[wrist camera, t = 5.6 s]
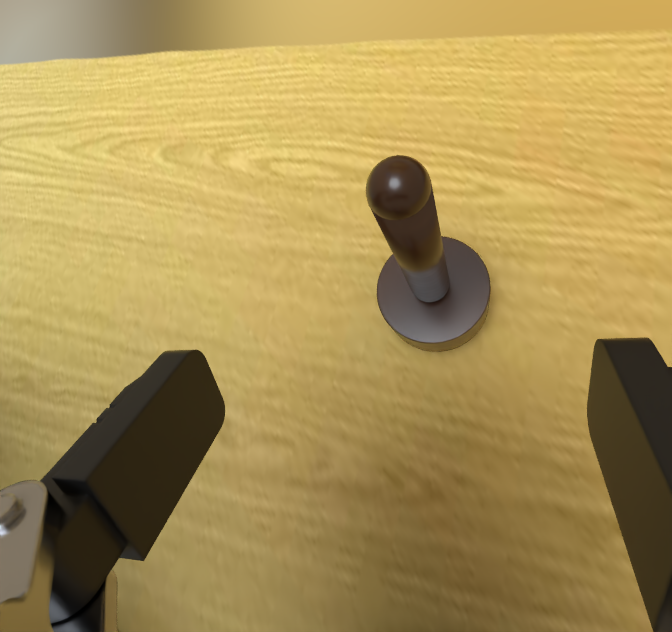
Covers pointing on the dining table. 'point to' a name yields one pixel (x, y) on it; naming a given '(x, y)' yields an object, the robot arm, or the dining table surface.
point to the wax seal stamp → (424, 262)
